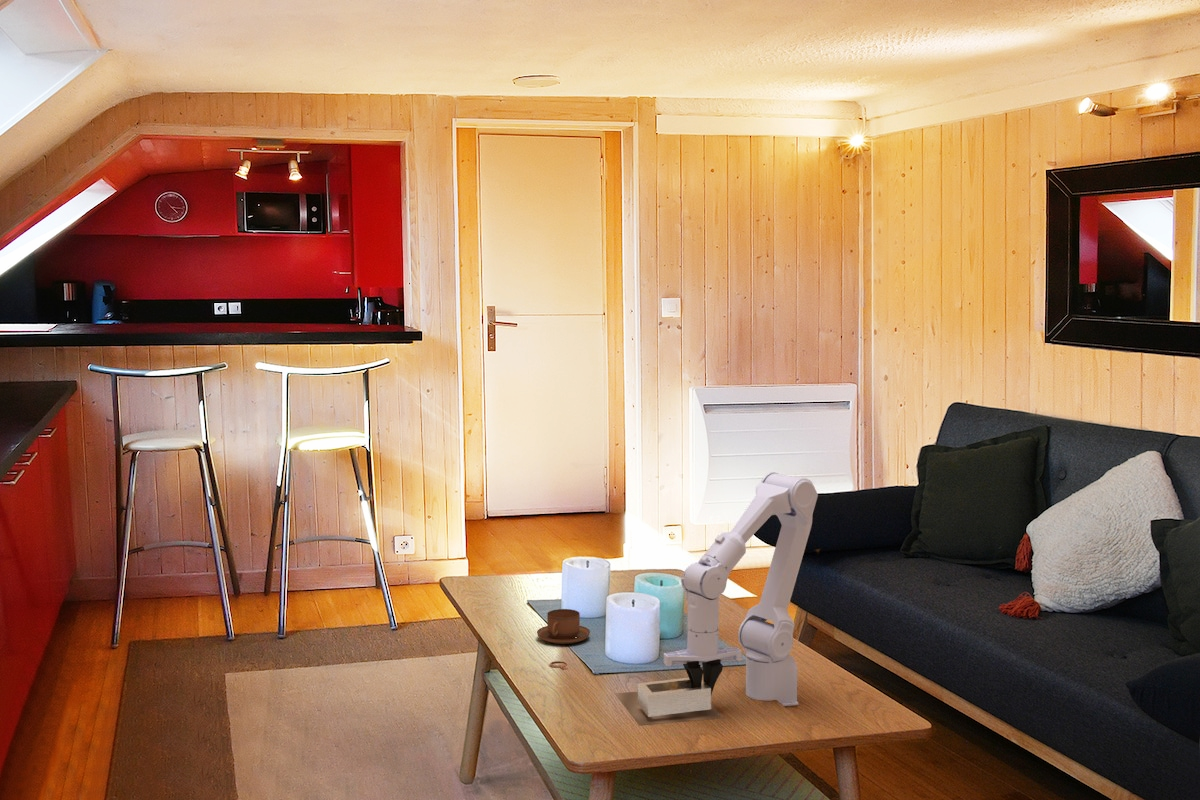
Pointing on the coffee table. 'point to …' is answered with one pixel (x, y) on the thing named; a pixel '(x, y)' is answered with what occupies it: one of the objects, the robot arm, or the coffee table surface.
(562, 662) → the key
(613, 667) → the coffee table surface
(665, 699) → the cream hollow block
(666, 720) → the board
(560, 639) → the cup and saucer
